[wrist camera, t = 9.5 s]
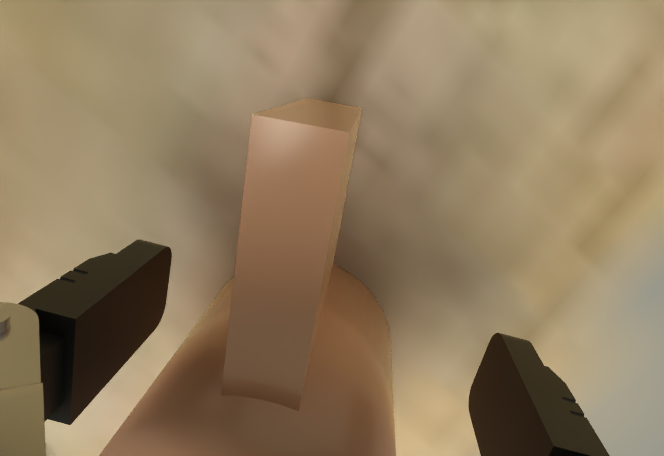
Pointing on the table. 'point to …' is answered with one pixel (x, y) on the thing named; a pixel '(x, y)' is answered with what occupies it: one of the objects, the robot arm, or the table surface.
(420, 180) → the table surface
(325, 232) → the peach mallet
